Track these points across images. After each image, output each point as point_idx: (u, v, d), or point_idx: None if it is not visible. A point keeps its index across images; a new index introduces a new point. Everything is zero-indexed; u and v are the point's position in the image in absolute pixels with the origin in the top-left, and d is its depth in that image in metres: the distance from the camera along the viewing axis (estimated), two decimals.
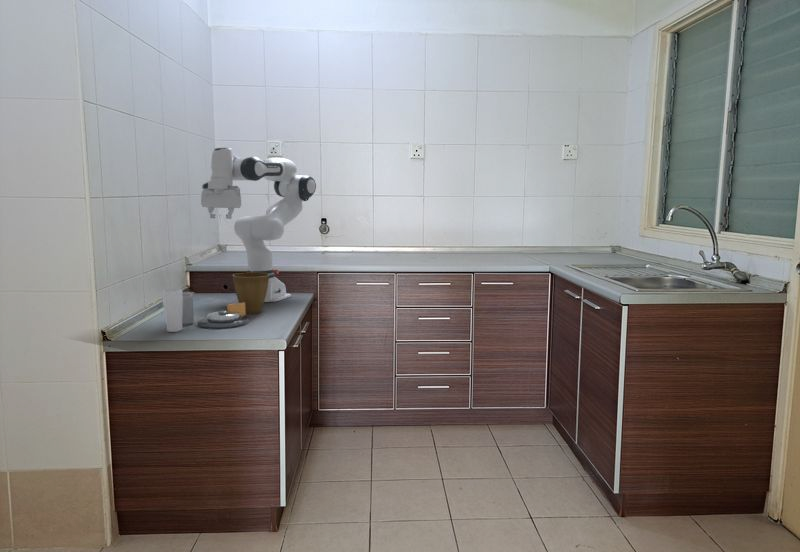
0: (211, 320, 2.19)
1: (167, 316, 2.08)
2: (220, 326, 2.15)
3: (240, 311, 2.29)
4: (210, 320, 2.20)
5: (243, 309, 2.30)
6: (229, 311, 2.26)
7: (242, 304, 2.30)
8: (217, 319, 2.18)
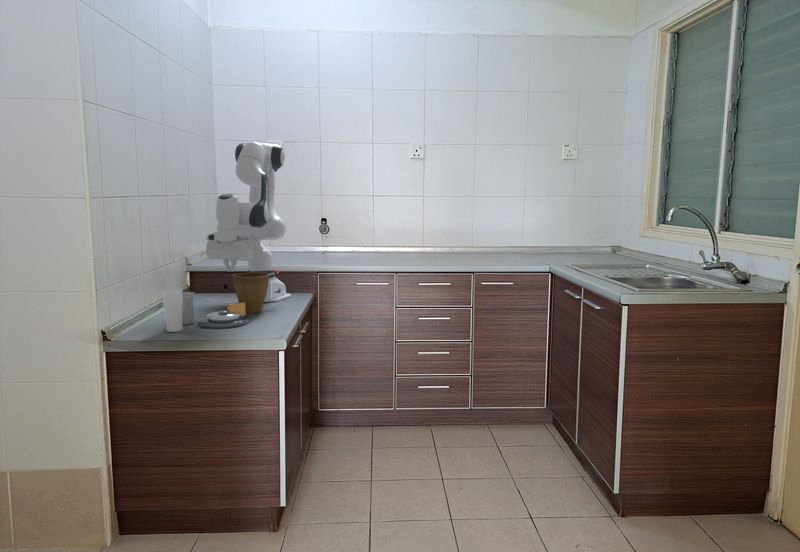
0: (211, 320, 2.19)
1: (167, 316, 2.08)
2: (220, 326, 2.15)
3: (240, 311, 2.29)
4: (210, 320, 2.20)
5: (243, 309, 2.30)
6: (229, 311, 2.26)
7: (242, 304, 2.30)
8: (217, 319, 2.18)
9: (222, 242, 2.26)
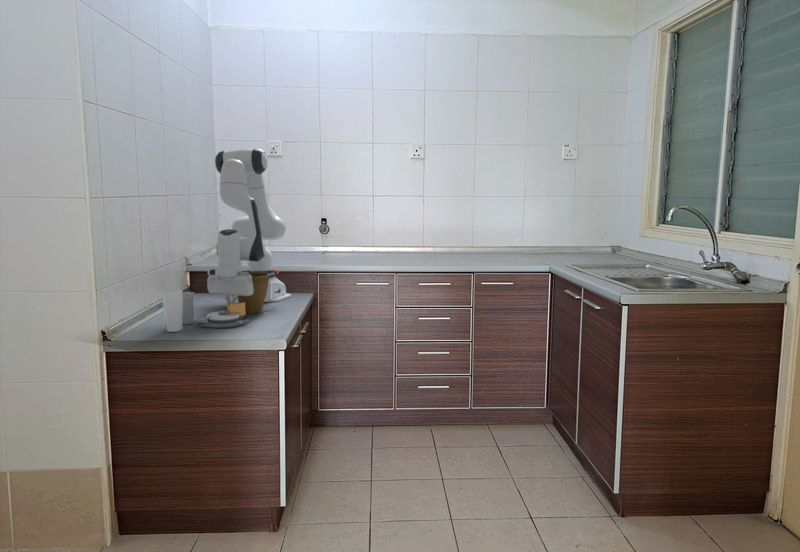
0: (211, 320, 2.19)
1: (167, 316, 2.08)
2: (220, 326, 2.15)
3: (240, 311, 2.29)
4: (210, 320, 2.20)
5: (243, 309, 2.30)
6: (229, 311, 2.26)
7: (242, 304, 2.30)
8: (217, 319, 2.18)
9: (223, 277, 2.28)
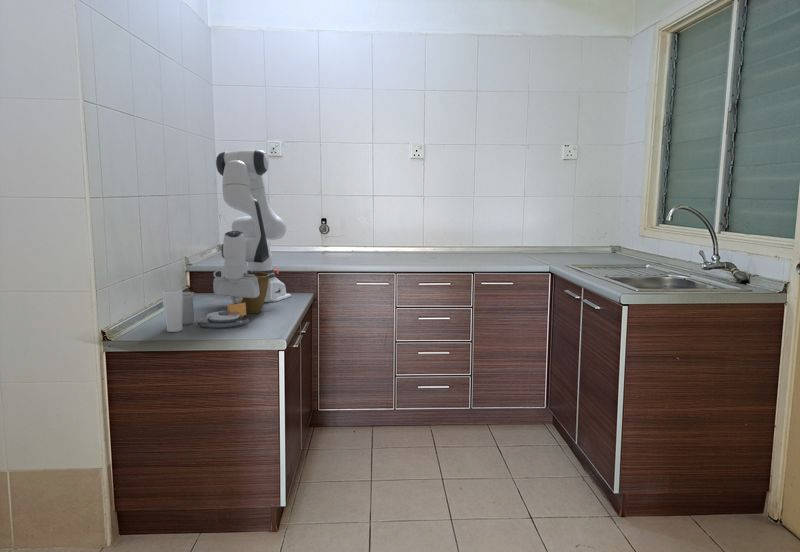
0: (211, 320, 2.19)
1: (167, 316, 2.08)
2: (220, 326, 2.15)
3: (240, 311, 2.29)
4: (210, 320, 2.20)
5: (243, 309, 2.30)
6: (229, 311, 2.26)
7: (242, 304, 2.29)
8: (216, 319, 2.18)
9: (229, 279, 2.27)
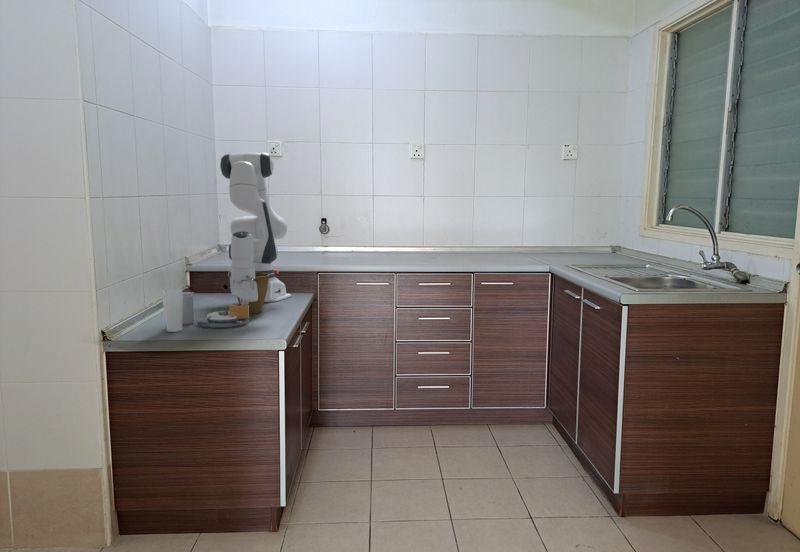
0: None
1: (167, 316, 2.08)
2: (220, 326, 2.15)
3: (242, 314, 2.24)
4: None
5: (245, 312, 2.24)
6: (229, 312, 2.24)
7: (244, 307, 2.24)
8: (208, 318, 2.21)
9: (235, 280, 2.24)
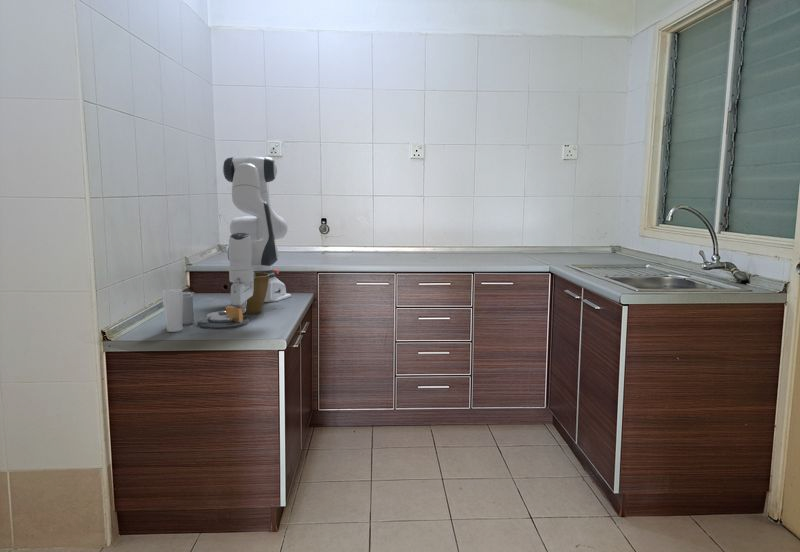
0: None
1: (167, 316, 2.08)
2: (220, 326, 2.15)
3: (234, 316, 2.20)
4: None
5: (237, 315, 2.19)
6: None
7: (236, 310, 2.19)
8: None
9: None
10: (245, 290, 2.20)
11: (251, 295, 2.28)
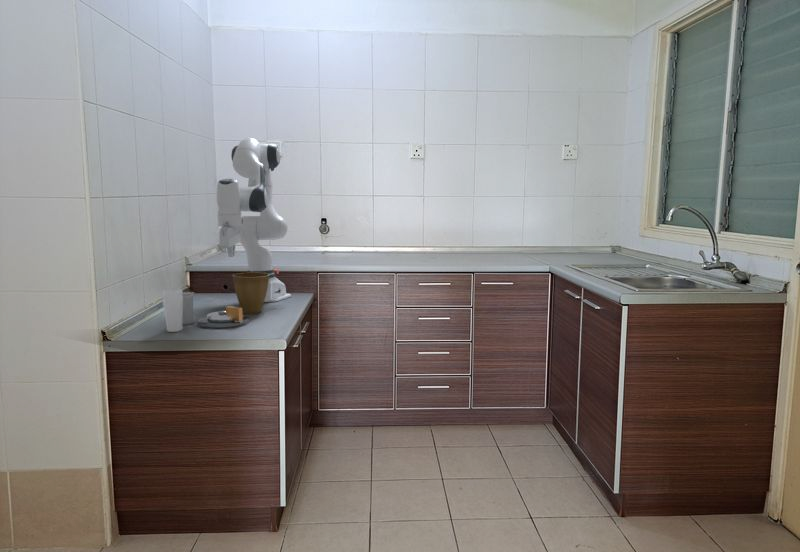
0: None
1: (167, 316, 2.08)
2: (220, 326, 2.15)
3: (234, 316, 2.20)
4: None
5: (237, 315, 2.19)
6: None
7: (236, 310, 2.19)
8: None
9: None
10: (233, 234, 2.27)
11: (239, 240, 2.36)
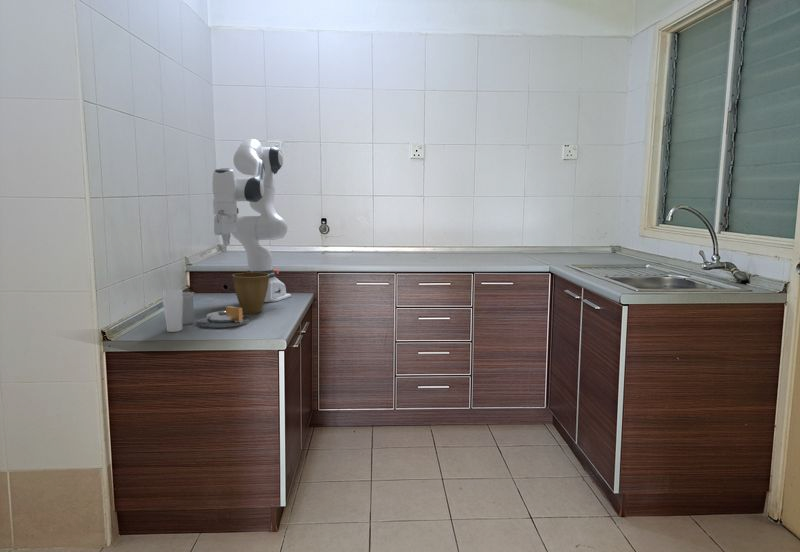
0: None
1: (167, 316, 2.08)
2: (220, 326, 2.15)
3: (234, 316, 2.20)
4: None
5: (237, 315, 2.19)
6: None
7: (236, 310, 2.19)
8: None
9: None
10: (228, 223, 2.30)
11: (235, 230, 2.39)
